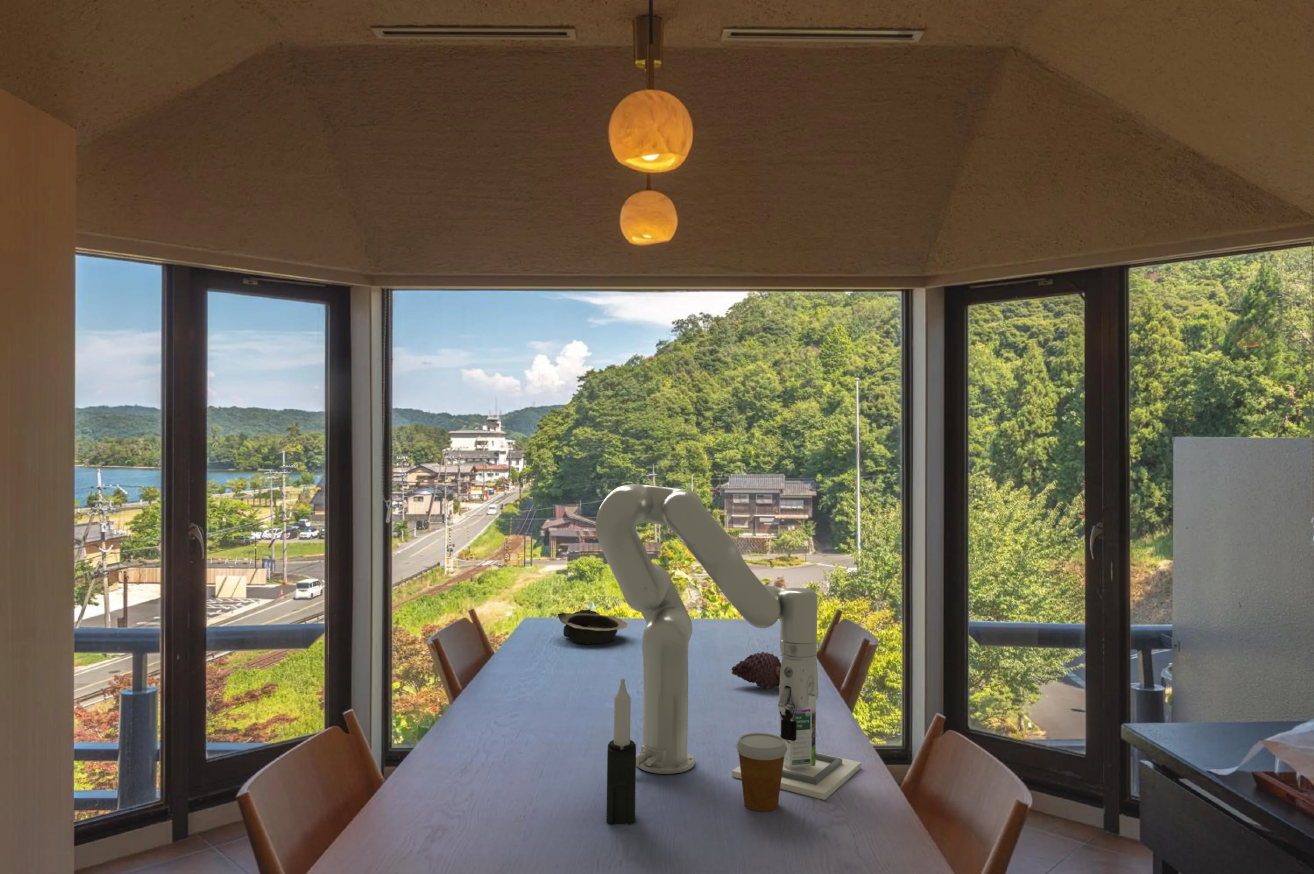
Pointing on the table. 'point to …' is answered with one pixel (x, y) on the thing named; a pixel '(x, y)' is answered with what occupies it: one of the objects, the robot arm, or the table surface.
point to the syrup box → (802, 736)
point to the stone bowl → (590, 626)
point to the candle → (621, 764)
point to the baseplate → (816, 776)
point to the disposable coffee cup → (761, 769)
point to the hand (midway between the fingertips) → (797, 733)
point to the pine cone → (760, 670)
